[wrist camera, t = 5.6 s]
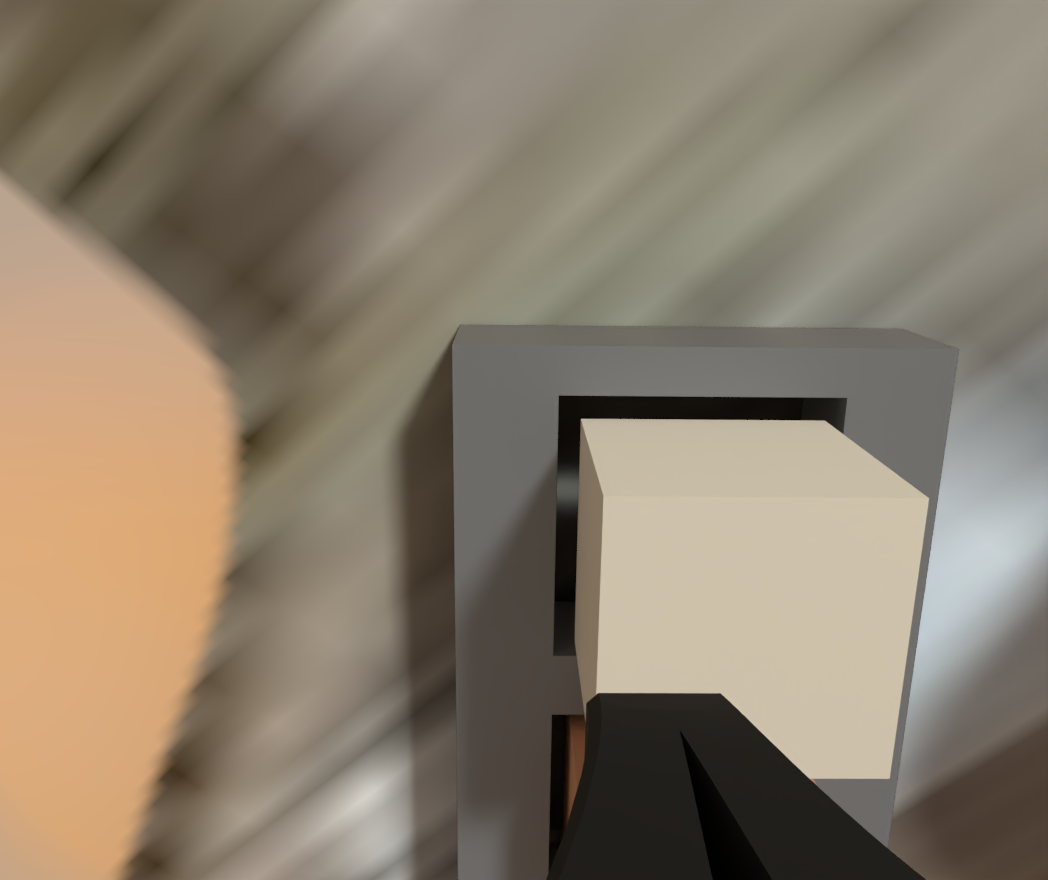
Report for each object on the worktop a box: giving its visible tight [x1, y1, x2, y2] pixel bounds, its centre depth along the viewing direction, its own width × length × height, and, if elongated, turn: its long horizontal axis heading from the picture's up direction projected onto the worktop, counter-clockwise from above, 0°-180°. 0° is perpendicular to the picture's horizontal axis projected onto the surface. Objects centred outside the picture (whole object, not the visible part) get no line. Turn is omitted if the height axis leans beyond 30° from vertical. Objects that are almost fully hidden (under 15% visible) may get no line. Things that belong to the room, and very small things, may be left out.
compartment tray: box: [452, 325, 959, 880], centre depth 20 cm, size 20×9×2 cm, turn 179°
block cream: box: [574, 419, 929, 779], centre depth 15 cm, size 4×4×4 cm
